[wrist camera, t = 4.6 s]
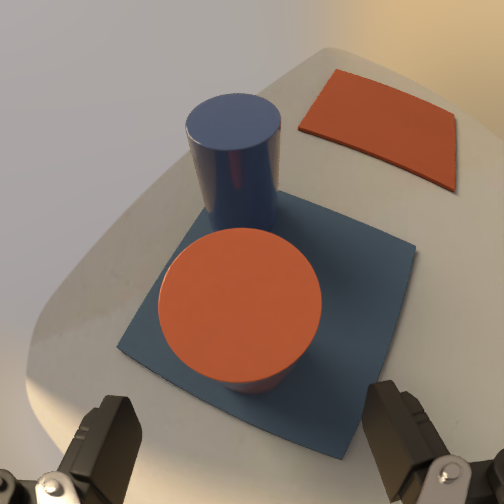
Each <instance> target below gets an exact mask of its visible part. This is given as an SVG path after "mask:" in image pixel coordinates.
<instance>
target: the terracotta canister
mask: <svg viewBox="0 0 504 504" xmlns="http://www.w3.org/2000/svg"><path fill="white" fill-rule="evenodd" d="M321 314H322V295H321V289H320V285H319V281H318V279H317V276H316V273H315V272H314V270H313V268H312V266H311V264H310V263H309V262H308V260H307V259H306V257H305V256H304V255H303V254H302V253H301V252H300V251H299V250H298V249H297V248H296V247H295V246H293V245H292V244H291V243H289V242H288V241H286V240H285V239H283V238H281V237H279V236H277V235H275V234H272V233H269V232H266V231H263V230H258V229H252V228H232V229H225V230H221V231H217V232H214V233H211V234H208V235H206V236H204V237H202V238H200V239H198V240H197V241H195V242H194V243H192V244H191V245H189V246H188V247H187V248H186V249H184V250H183V251H182V252H181V253H180V254H179V255H178V257H177V258H176V259H175V260H174V261H173V263H172V264H171V266H170V267H169V269H168V271H167V273H166V274H165V277H164V279H163V282H162V285H161V289H160V293H159V300H158V315H159V321H160V325H161V329H162V332H163V335H164V337H165V339H166V341H167V343H168V344H169V346H170V348H171V349H172V351H173V352H174V353H175V354H176V355H177V357H178V358H179V359H180V360H181V361H182V362H184V363H185V364H186V365H187V366H188V367H190V368H191V369H193V370H194V371H196V372H197V373H199V374H201V375H203V376H205V377H207V378H209V379H211V380H213V381H215V382H217V383H219V384H221V385H223V386H225V387H227V388H229V389H231V390H233V391H235V392H238V393H242V394H260V393H263V392H266V391H269V390H271V389H273V388H275V387H276V386H277V385H279V384H280V383H281V382H282V381H283V380H284V379H285V377H286V376H287V375H288V374H289V372H290V371H291V370H292V368H293V367H294V366H295V364H296V363H297V362H298V360H299V359H300V358H301V356H302V355H303V354H304V352H305V351H306V350H307V348H308V347H309V345H310V344H311V342H312V340H313V338H314V336H315V335H316V332H317V329H318V326H319V324H320V319H321Z"/></svg>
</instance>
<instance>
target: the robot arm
mask: <svg viewBox="0 0 504 504" xmlns="http://www.w3.org/2000/svg"><path fill="white" fill-rule="evenodd" d="M362 424H363V429H364V432H365V435H366V437H367V440H368V443H369V445H370V448H371V451H372V453H373V456H374V459H375V461H376V464H377V467H378V470H379V472H380V475H381V478H382V481H383V483H384V486H385V489H386V492H387V495H388V498H389V500H390V503H392V502H395V501H399V500H401V501H402V503H403V504H504V449H502V450H501V451H500V452H499V453H498V454H497V455H496V457H495V458H494V459H493V460H487V461H480V462H472V463H468V462H467V461H466V460H465V459H463V458H461V457H459V456H456V455H451V454H450V453H449V451H448V450H447V448H446V446H445V444H444V443H443V441H442V439H441V437H440V436H439V434H438V432H437V431H436V429H435V427H434V425H433V424H432V422H431V421H430V420H429V417H428V415H427V414H426V412H424V409H423V407H422V405H421V404H420V402H419V401H418V399H417V398H415V397H414V396H413V395H411V394H410V393H408V392H407V391H405V392H401V393H400V392H399V391H398V389H397V387H396V385H395V384H394V382H393V381H392V380H387V381H382V382H377V383H372V384H369V386H368V390H367V395H366V400H365V404H364V409H363V414H362ZM74 437H75V438H73V439H72V441H71V443H70V445H69V447H68V449H67V451H66V453H65V455H64V457H63V460H62V462H61V464H60V466H59V468H58V470H57V471H52V472H48V473H45V474H44V475H42V476H41V477H40V478H39V479H38V481H30V480H17V479H16V478H15V477H14V476H13V475H12V474H11V473H10V472H9V471H7V470H5V469H0V504H123V502H124V498H125V495H126V491H127V488H128V484H129V481H130V477H131V474H132V471H133V467H134V464H135V461H136V458H137V454H138V451H139V448H140V445H141V441H142V428H141V425H140V422H139V420H138V418H137V416H136V413H135V411H134V408H133V406H132V404H131V401H130V399H129V398H128V397H124V396H113V395H107V396H105V398H104V399H103V401H102V403H101V405H100V407H99V408H93V409H92V410H91V411H90V412H89V413H88V414H87V415H85V416H84V418H83V420H82V422H81V424H80V426H79V430H77V431H76V433H75V435H74Z"/></svg>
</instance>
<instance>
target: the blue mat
mask: <svg viewBox="0 0 504 504" xmlns="http://www.w3.org/2000/svg"><path fill="white" fill-rule="evenodd" d="M211 233H214V231H213V230H212V228H211V225H210V222H209V219H208V215H207V211H206V207H204V209H203V210H202V212H201V213H200V215H199V216H198V218H197V219H196V220H195V222H194V223H193V225H192V226H191V228H190V229H189V231H188V232H187V234H186V235H185V237H184V238H183V240H182V241H181V243H180V244H179V246H178V248H177V249H176V251H175V252H174V254H173V255H172V257H171V258H170V260H169V261H168V263H167V264H166V266H165V268H164V269H163V271H162V272H161V274H160V275H159V277H158V279H157V280H156V282H155V283H154V285H153V287H152V288H151V290H150V291H149V293H148V295H147V296H146V298H145V300H144V301H143V303H142V304H141V306H140V308H139V309H138V311H137V313H136V314H135V316H134V318H133V319H132V321H131V323H130V324H129V326H128V328H127V330H126V331H125V333H124V335H123V336H122V338H121V340H120V342H119V343H118V345H117V348H118V349H120V350H121V351H122V352H124V353H125V354H127V355H128V356H130V357H131V358H133V359H134V360H136V361H138V362H139V363H141V364H142V365H144V366H145V367H147V368H148V369H150V370H152V371H153V372H155V373H157V374H158V375H160V376H161V377H163V378H165V379H166V380H168V381H170V382H171V383H173V384H175V385H177V386H178V387H180V388H182V389H184V390H185V391H187V392H189V393H191V394H192V395H194V396H196V397H198V398H200V399H202V400H203V401H205V402H207V403H209V404H211V405H213V406H215V407H217V408H219V409H221V410H223V411H225V412H227V413H229V414H231V415H233V416H235V417H237V418H239V419H241V420H243V421H245V422H247V423H250V424H252V425H254V426H256V427H258V428H261V429H263V430H265V431H267V432H270V433H272V434H274V435H277V436H279V437H281V438H284V439H286V440H289V441H291V442H294V443H296V444H299V445H301V446H304V447H307V448H309V449H312V450H315V451H317V452H320V453H323V454H326V455H329V456H332V457H334V458H337V459H340V460H342V458H343V456H344V454H345V452H346V450H347V448H348V446H349V444H350V442H351V440H352V438H353V436H354V433H355V431H356V429H357V427H358V425H359V422H360V420H361V418H362V414H363V409H364V404H365V400H366V395H367V390H368V386H369V384H372V383H376V381H377V379H378V376H379V373H380V371H381V368H382V365H383V362H384V360H385V357H386V354H387V351H388V348H389V345H390V342H391V339H392V336H393V333H394V330H395V326H396V323H397V320H398V316H399V313H400V310H401V306H402V302H403V299H404V295H405V291H406V288H407V284H408V280H409V276H410V271H411V267H412V263H413V258H414V254H415V249H416V246H415V245H412V244H410V243H408V242H406V241H404V240H401V239H399V238H397V237H394V236H392V235H390V234H388V233H385V232H383V231H381V230H378V229H376V228H374V227H371V226H369V225H366V224H364V223H362V222H359V221H357V220H354V219H352V218H349V217H347V216H345V215H342V214H340V213H337V212H335V211H332V210H330V209H327V208H324V207H322V206H319V205H317V204H314V203H312V202H309V201H306V200H304V199H301V198H298V197H296V196H293V195H290V194H288V193H285V192H282V191H279V190H278V202H277V218H276V222H275V225H274V227H273V229H272V230H271V231H270V232H269V233H272V234H275V235H277V236H279V237H281V238H283V239H285V240H286V241H288V242H289V243H291V244H292V245H293V246H295V247H296V248H297V249H298V250H299V251H300V252H301V253H302V254H303V255H304V256H305V257H306V259H307V260H308V262H309V263H310V264H311V266H312V268H313V270H314V272H315V273H316V276H317V279H318V281H319V285H320V289H321V295H322V314H321V319H320V324H319V326H318V329H317V332H316V335H315V336H314V338H313V340H312V342H311V344H310V345H309V347H308V348H307V350H306V351H305V352H304V354H303V355H302V356H301V358H300V359H299V360H298V362H297V363H296V364H295V366H294V367H293V368H292V370H291V371H290V372H289V374H288V375H287V376H286V377H285V379H284V380H283V381H282V382H281V383H280V384H279V385H277V386H276V387H275V388H273V389H271V390H269V391H266V392H263V393H260V394H242V393H238V392H235V391H233V390H231V389H229V388H227V387H225V386H223V385H221V384H219V383H217V382H215V381H213V380H211V379H209V378H207V377H205V376H203V375H201V374H199V373H197V372H196V371H194V370H193V369H191V368H190V367H188V366H187V365H186V364H185V363H184V362H182V361H181V360H180V359H179V358H178V357H177V355H176V354H175V353H174V352H173V351H172V349H171V348H170V346H169V344H168V343H167V341H166V339H165V337H164V335H163V332H162V329H161V325H160V321H159V315H158V300H159V293H160V289H161V285H162V282H163V279H164V277H165V274H166V273H167V271H168V269H169V267H170V266H171V264H172V263H173V261H174V260H175V259H176V258H177V257H178V255H179V254H180V253H181V252H182V251H183V250H184V249H186V248H187V247H188V246H189V245H191V244H192V243H194V242H195V241H197V240H198V239H200V238H202V237H204V236H206V235H208V234H211Z"/></svg>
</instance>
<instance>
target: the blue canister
mask: <svg viewBox="0 0 504 504" xmlns="http://www.w3.org/2000/svg"><path fill="white" fill-rule="evenodd" d="M185 126H186V127H185V128H186V133H187V137H188V141H189V145H190V149H191V153H192V157H193V161H194V165H195V169H196V173H197V177H198V181H199V185H200V189H201V192H202V196H203V200H204V204H205V207H206V211H207V215H208V219H209V222H210V225H211V228H212V230H213V231H214V232H217V231H221V230H225V229H232V228H252V229H258V230H263V231H266V232H270V231H271V230H272V229H273V227H274V225H275V222H276V218H277V202H278V181H279V159H280V135H281V116H280V113H279V111H278V109H277V108H276V107H275V105H273V104H272V103H271V102H269V101H268V100H266V99H264V98H262V97H259V96H256V95H251V94H244V93H243V94H242V93H233V94H225V95H220V96H216V97H214V98H211V99H208V100H206V101H204V102H202V103H201V104H199V105H198V106H197V107H196V108H194V109H193V110H192V111H191V113H190V114H189V116H188V118H187V120H186V124H185Z"/></svg>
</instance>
